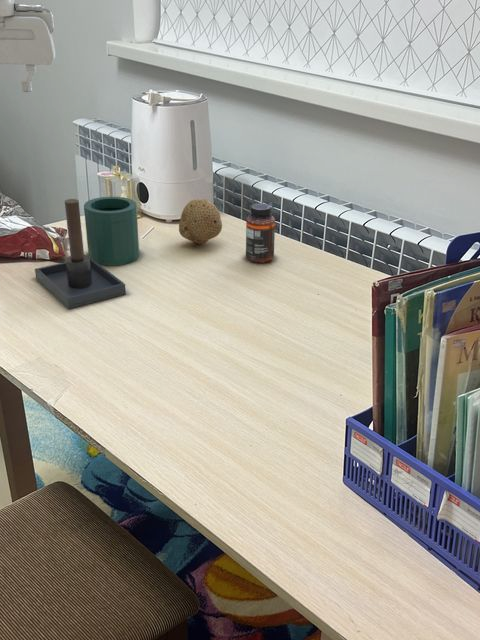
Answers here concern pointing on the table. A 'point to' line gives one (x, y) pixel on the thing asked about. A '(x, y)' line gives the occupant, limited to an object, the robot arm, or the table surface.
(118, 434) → the table surface
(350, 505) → the table surface
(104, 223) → the jar
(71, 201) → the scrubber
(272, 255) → the supplement bottle
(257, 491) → the table surface
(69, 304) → the tray
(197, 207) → the natural sponge
